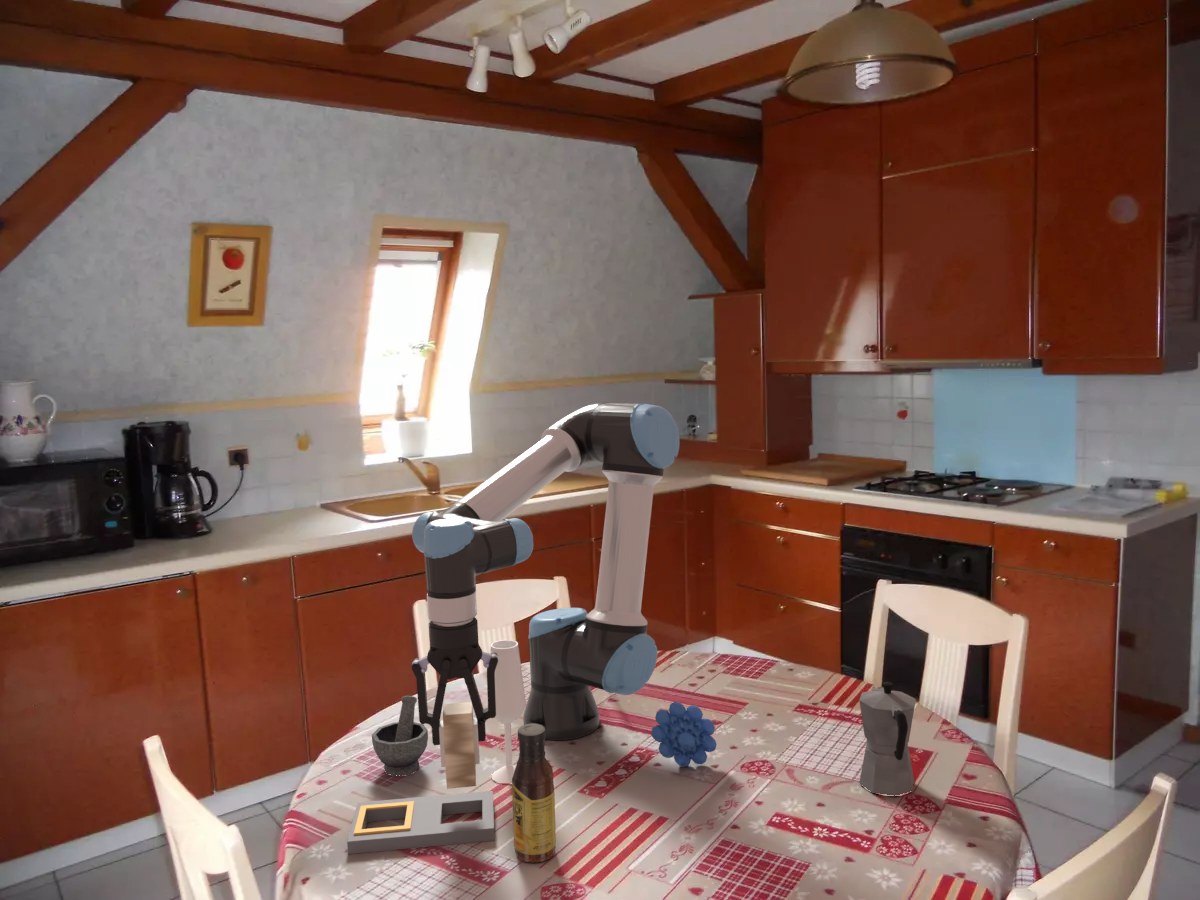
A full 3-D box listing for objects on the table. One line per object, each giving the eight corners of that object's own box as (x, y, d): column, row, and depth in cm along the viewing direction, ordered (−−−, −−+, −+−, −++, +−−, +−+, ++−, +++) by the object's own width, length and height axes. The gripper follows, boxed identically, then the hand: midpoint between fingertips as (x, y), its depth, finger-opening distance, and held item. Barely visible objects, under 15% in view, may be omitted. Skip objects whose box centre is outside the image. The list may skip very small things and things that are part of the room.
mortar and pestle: (416, 783, 161) (412, 717, 160) (365, 780, 163) (362, 714, 162) (438, 754, 172) (435, 692, 171) (391, 752, 174) (387, 690, 173)
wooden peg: (475, 772, 149) (472, 701, 148) (475, 786, 145) (472, 712, 143) (447, 775, 149) (443, 703, 147) (446, 788, 144) (442, 715, 143)
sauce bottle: (514, 844, 141) (509, 719, 139) (555, 841, 141) (551, 716, 139) (514, 868, 134) (509, 738, 132) (557, 865, 135) (552, 735, 133)
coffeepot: (848, 767, 163) (849, 669, 161) (902, 766, 163) (903, 667, 161) (873, 811, 148) (874, 703, 146) (932, 810, 148) (934, 702, 146)
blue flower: (654, 779, 160) (653, 713, 159) (650, 761, 167) (649, 698, 166) (721, 775, 161) (720, 709, 160) (714, 758, 168) (713, 695, 166)
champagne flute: (530, 782, 160) (525, 649, 158) (491, 786, 159) (485, 652, 157) (526, 765, 167) (522, 636, 164) (489, 769, 166) (484, 639, 163)
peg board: (493, 802, 154) (492, 789, 154) (494, 840, 142) (494, 826, 142) (358, 814, 151) (357, 800, 151) (347, 854, 139) (347, 839, 139)
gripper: (508, 608, 148) (515, 746, 151) (397, 615, 146) (406, 755, 149) (510, 622, 141) (517, 767, 144) (393, 630, 139) (402, 777, 142)
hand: (460, 761), depth 146 cm, fingers closed on wooden peg, 4 cm apart
